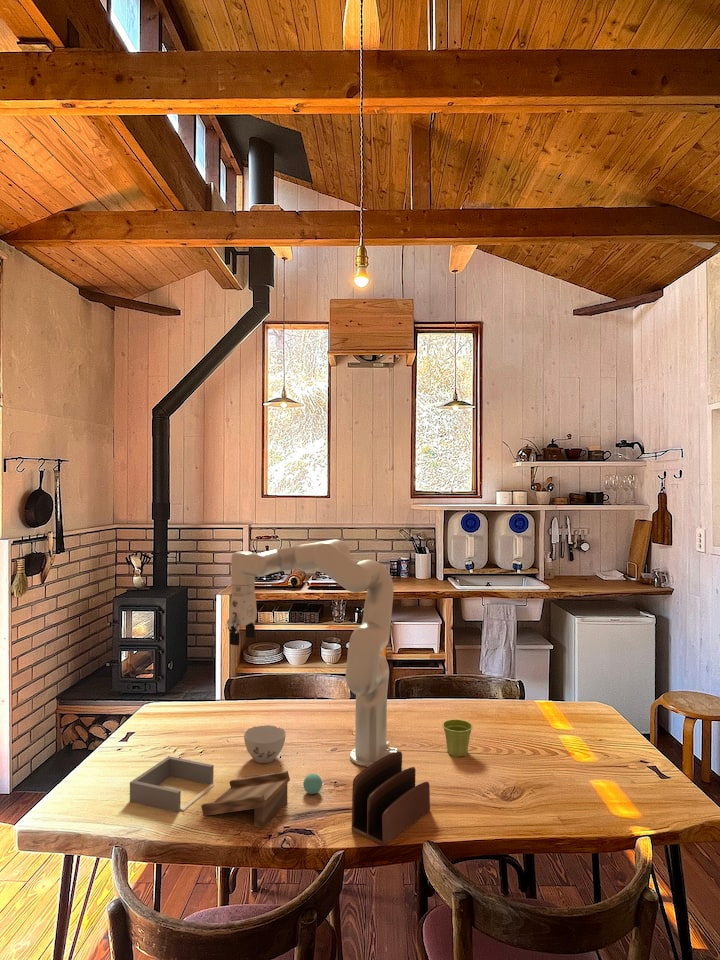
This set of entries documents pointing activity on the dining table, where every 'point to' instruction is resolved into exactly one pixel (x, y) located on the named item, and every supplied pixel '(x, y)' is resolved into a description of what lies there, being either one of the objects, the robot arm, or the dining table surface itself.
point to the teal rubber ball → (312, 783)
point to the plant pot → (457, 736)
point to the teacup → (264, 742)
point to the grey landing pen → (167, 798)
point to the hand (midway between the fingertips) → (242, 641)
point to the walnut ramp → (253, 797)
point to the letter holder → (387, 799)
